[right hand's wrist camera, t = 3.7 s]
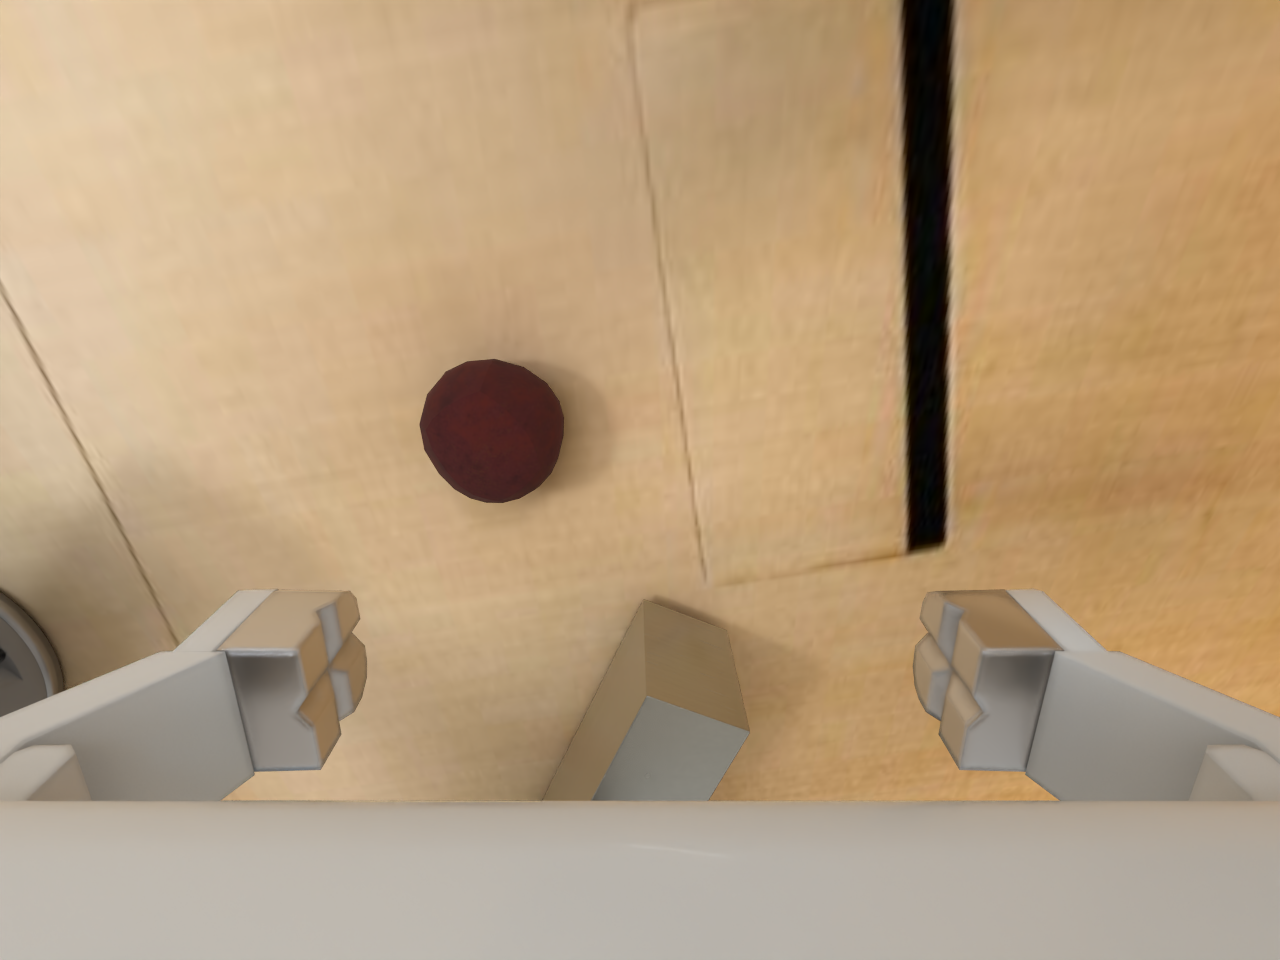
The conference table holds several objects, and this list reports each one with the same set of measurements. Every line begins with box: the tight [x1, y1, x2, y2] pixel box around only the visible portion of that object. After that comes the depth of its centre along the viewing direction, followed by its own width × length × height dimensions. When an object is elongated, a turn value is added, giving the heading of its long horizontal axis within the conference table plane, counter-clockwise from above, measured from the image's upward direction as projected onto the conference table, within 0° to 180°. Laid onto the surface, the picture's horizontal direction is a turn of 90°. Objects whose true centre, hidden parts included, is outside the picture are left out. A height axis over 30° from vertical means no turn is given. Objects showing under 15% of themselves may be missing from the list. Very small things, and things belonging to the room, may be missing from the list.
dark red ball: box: [420, 359, 564, 503], centre depth 38 cm, size 7×8×7 cm
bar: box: [542, 599, 750, 801], centre depth 45 cm, size 27×6×10 cm, turn 156°
